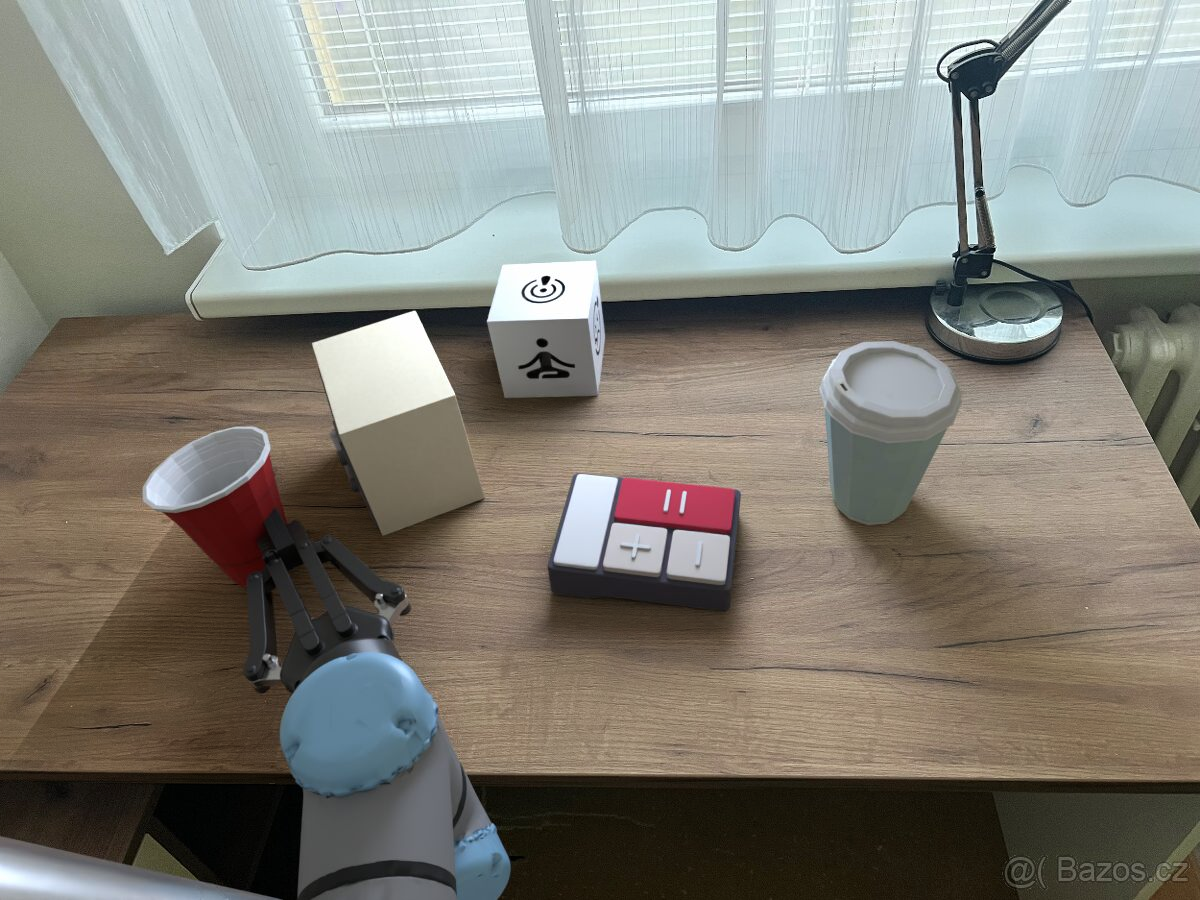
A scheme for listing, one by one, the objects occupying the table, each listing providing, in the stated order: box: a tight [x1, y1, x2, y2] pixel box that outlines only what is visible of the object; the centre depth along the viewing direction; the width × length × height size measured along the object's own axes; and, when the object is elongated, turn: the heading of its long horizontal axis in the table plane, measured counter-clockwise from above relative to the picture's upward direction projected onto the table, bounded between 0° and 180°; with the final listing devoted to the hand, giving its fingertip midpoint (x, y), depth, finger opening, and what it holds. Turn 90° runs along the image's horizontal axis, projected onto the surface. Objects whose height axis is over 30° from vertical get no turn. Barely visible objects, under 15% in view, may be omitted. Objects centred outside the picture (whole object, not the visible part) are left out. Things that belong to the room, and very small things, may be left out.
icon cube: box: [486, 260, 606, 399], centre depth 92 cm, size 10×10×10 cm
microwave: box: [311, 310, 485, 537], centre depth 82 cm, size 11×14×13 cm
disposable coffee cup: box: [818, 340, 963, 526], centre depth 72 cm, size 11×11×15 cm
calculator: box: [547, 472, 742, 612], centre depth 75 cm, size 11×4×15 cm
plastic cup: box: [141, 426, 289, 588], centre depth 75 cm, size 11×11×12 cm
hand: (268, 510), depth 76 cm, fingers closed
